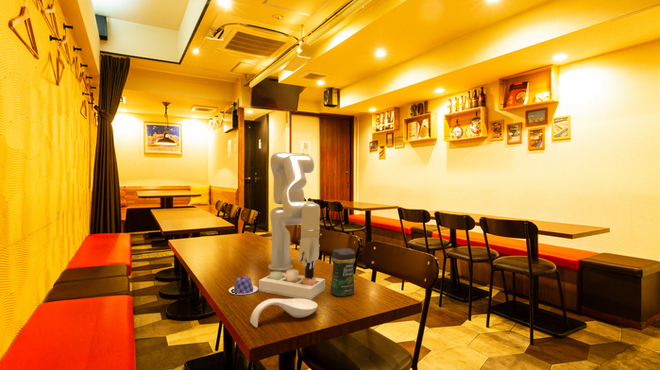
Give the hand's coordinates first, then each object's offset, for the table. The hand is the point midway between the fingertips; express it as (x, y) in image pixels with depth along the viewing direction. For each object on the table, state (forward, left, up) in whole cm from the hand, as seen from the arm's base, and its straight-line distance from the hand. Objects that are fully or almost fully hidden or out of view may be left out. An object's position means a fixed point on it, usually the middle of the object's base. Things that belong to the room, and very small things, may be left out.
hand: (309, 277), depth 139 cm
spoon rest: (+25, +4, -7) cm, 26 cm away
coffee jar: (-6, +13, -7) cm, 15 cm away
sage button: (0, -16, -5) cm, 17 cm away
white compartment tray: (0, -8, -7) cm, 10 cm away
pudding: (+9, -26, -7) cm, 28 cm away
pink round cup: (0, 0, -5) cm, 5 cm away
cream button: (0, -8, -3) cm, 8 cm away
